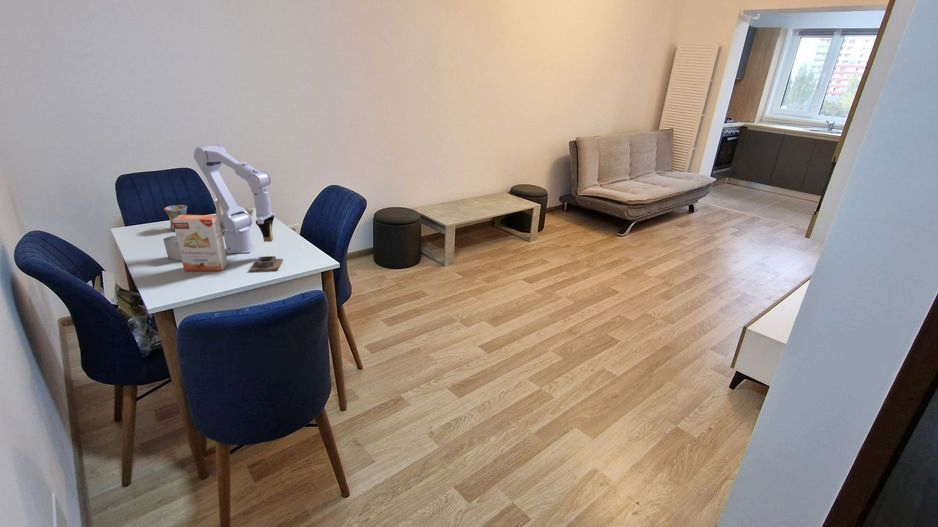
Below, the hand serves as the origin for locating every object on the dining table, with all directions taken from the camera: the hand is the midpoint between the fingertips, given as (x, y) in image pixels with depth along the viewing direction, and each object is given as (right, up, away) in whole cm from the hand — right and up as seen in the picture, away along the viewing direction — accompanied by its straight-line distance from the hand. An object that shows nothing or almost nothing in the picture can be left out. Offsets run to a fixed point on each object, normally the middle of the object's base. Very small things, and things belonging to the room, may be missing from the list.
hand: (267, 235), depth 183 cm
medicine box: (-35, -10, -1) cm, 36 cm away
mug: (-56, +5, +32) cm, 65 cm away
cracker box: (-19, -14, -10) cm, 25 cm away
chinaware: (-33, +6, +37) cm, 50 cm away
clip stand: (+3, -13, -6) cm, 14 cm away
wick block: (0, -2, +1) cm, 2 cm away
